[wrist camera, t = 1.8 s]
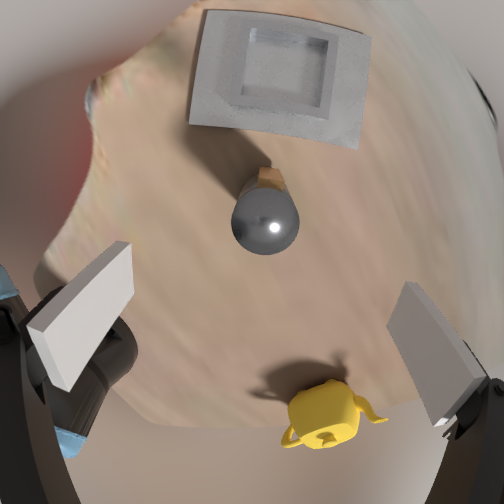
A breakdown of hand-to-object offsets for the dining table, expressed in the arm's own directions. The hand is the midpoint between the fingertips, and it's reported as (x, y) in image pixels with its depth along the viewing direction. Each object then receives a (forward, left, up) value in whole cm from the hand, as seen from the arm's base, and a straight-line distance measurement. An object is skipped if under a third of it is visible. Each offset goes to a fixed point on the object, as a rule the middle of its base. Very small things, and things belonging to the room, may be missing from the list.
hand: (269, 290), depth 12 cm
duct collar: (0, +14, -20) cm, 24 cm away
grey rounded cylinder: (0, 0, -20) cm, 20 cm away
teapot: (+16, -32, -20) cm, 41 cm away
